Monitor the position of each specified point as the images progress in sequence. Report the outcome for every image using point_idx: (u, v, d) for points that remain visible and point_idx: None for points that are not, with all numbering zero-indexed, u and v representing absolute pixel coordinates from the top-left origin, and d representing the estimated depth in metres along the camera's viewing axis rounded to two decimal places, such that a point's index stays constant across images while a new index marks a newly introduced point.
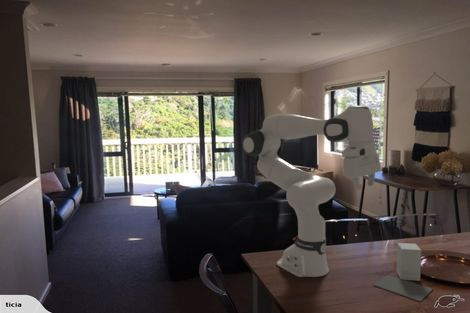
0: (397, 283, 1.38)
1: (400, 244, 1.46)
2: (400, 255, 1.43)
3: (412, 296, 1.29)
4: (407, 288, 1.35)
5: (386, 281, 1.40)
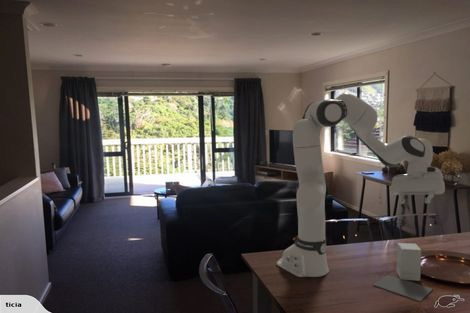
0: (397, 283, 1.38)
1: (400, 244, 1.46)
2: (400, 255, 1.43)
3: (412, 296, 1.29)
4: (407, 288, 1.35)
5: (386, 281, 1.40)
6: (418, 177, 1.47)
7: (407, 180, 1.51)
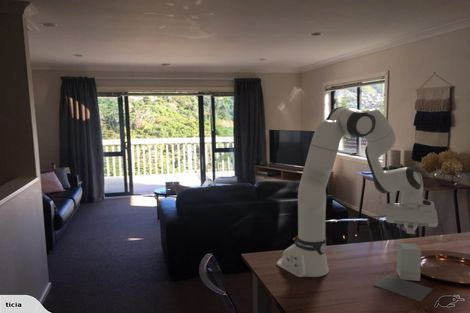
0: (397, 283, 1.38)
1: (400, 244, 1.46)
2: (400, 255, 1.43)
3: (412, 296, 1.29)
4: (407, 288, 1.35)
5: (386, 281, 1.40)
6: (414, 208, 1.55)
7: (402, 210, 1.57)
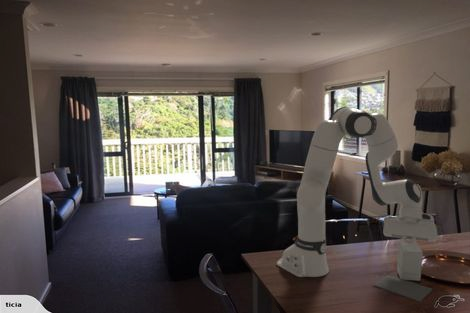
0: (397, 283, 1.38)
1: (401, 244, 1.44)
2: (401, 256, 1.41)
3: (412, 296, 1.29)
4: (407, 288, 1.35)
5: (386, 281, 1.40)
6: (412, 222, 1.50)
7: (400, 224, 1.52)
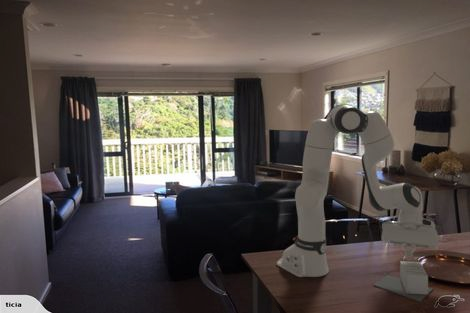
0: (397, 283, 1.38)
1: (408, 279, 1.30)
2: (404, 285, 1.34)
3: (412, 296, 1.29)
4: None
5: (386, 281, 1.40)
6: (412, 228, 1.42)
7: (400, 230, 1.44)
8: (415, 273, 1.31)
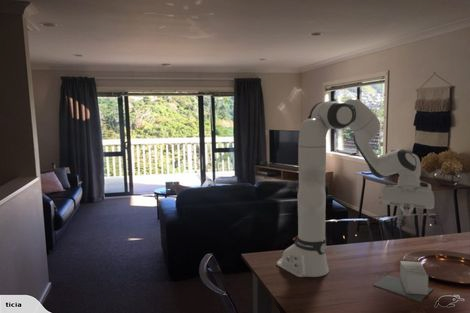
0: (397, 283, 1.38)
1: (408, 279, 1.30)
2: (404, 285, 1.34)
3: (412, 296, 1.29)
4: None
5: (386, 281, 1.40)
6: (410, 190, 1.53)
7: (399, 192, 1.55)
8: (415, 273, 1.31)
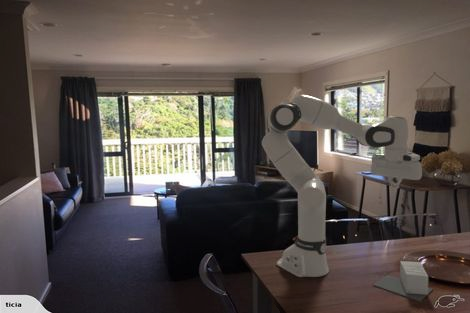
0: (397, 283, 1.38)
1: (408, 279, 1.30)
2: (404, 285, 1.34)
3: (412, 296, 1.29)
4: None
5: (386, 281, 1.40)
6: (395, 164, 1.48)
7: (385, 165, 1.52)
8: (415, 273, 1.31)
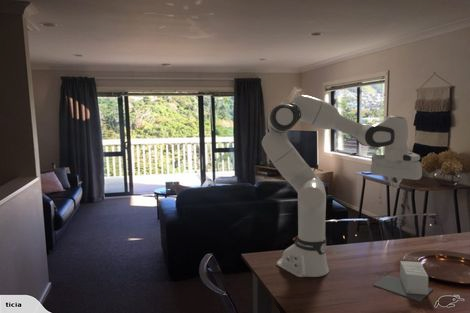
0: (397, 283, 1.38)
1: (408, 279, 1.30)
2: (404, 285, 1.34)
3: (412, 296, 1.29)
4: None
5: (386, 281, 1.40)
6: (395, 163, 1.48)
7: (385, 165, 1.52)
8: (415, 273, 1.31)
